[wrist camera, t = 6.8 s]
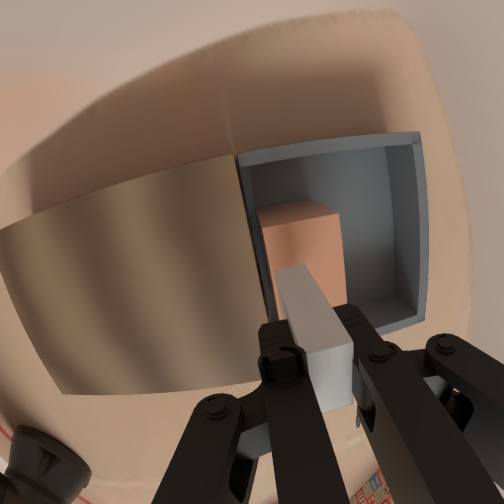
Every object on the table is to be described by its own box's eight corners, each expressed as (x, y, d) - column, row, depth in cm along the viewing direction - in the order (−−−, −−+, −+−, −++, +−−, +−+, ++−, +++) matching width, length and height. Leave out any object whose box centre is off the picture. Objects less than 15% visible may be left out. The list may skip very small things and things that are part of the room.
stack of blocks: (400, 440, 32) (431, 500, 20) (430, 433, 33) (461, 486, 21) (348, 500, 38) (362, 547, 26) (374, 494, 39) (390, 538, 27)
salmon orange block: (281, 329, 16) (347, 313, 16) (262, 228, 14) (338, 213, 14) (269, 287, 22) (320, 276, 22) (254, 209, 20) (310, 198, 20)
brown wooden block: (86, 354, 24) (62, 394, 18) (32, 217, 20) (-11, 234, 14) (269, 329, 24) (279, 376, 18) (233, 156, 20) (233, 153, 14)
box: (271, 328, 24) (279, 362, 20) (236, 155, 20) (236, 153, 15) (399, 296, 24) (424, 320, 19) (387, 134, 20) (419, 131, 15)
